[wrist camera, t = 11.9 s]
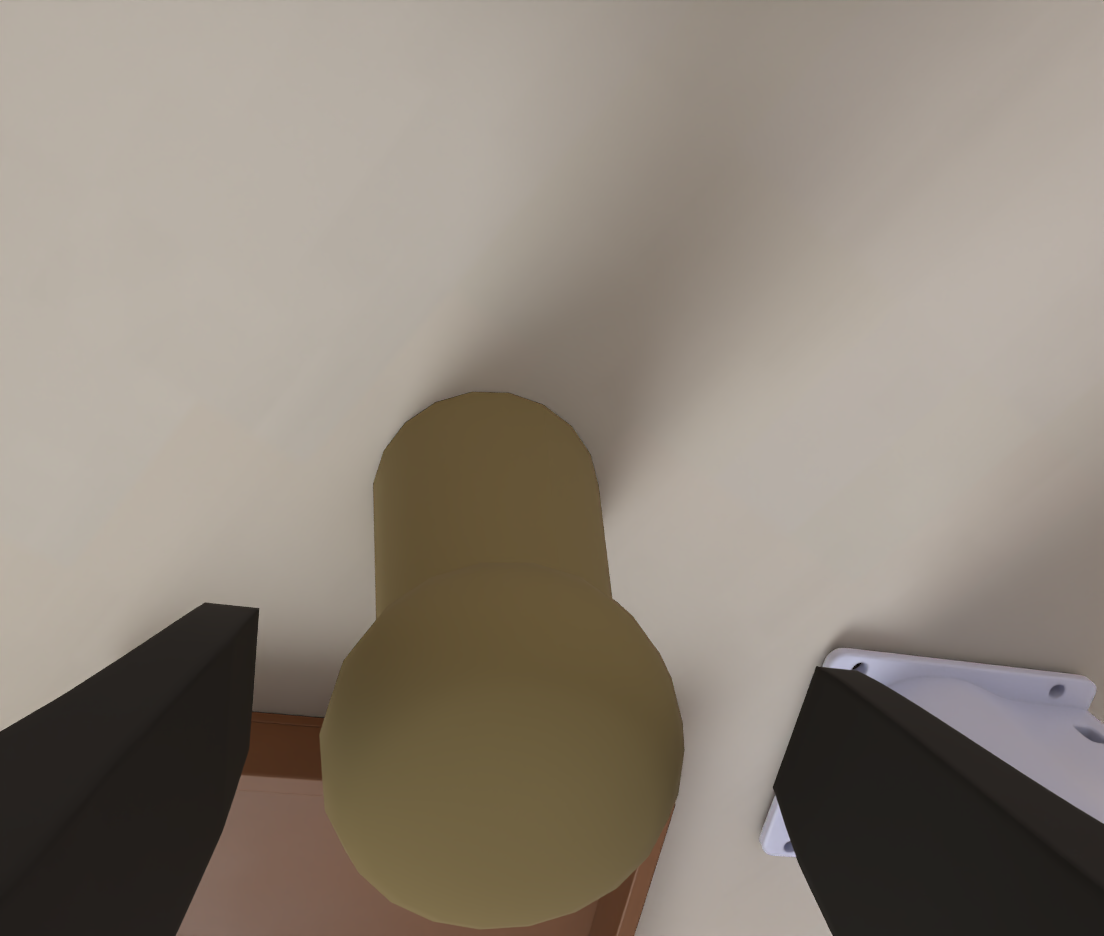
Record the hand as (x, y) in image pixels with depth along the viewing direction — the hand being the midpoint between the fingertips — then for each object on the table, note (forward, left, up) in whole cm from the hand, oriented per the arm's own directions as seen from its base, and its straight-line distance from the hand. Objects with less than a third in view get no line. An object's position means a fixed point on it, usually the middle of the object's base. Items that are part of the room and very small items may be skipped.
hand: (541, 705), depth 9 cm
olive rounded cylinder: (0, +1, -10) cm, 11 cm away
